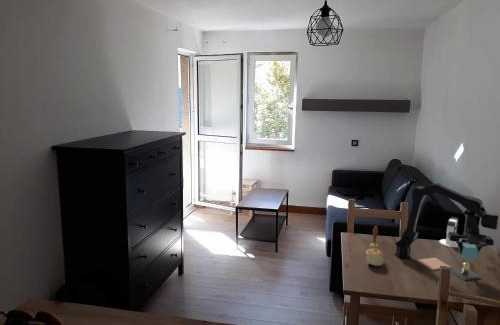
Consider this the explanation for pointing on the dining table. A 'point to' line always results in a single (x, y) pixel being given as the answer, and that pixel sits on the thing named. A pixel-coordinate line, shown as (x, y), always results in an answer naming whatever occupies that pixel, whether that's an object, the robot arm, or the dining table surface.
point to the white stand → (450, 228)
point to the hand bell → (374, 240)
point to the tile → (433, 263)
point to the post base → (464, 276)
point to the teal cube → (469, 251)
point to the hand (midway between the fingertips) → (467, 255)
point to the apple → (375, 257)
